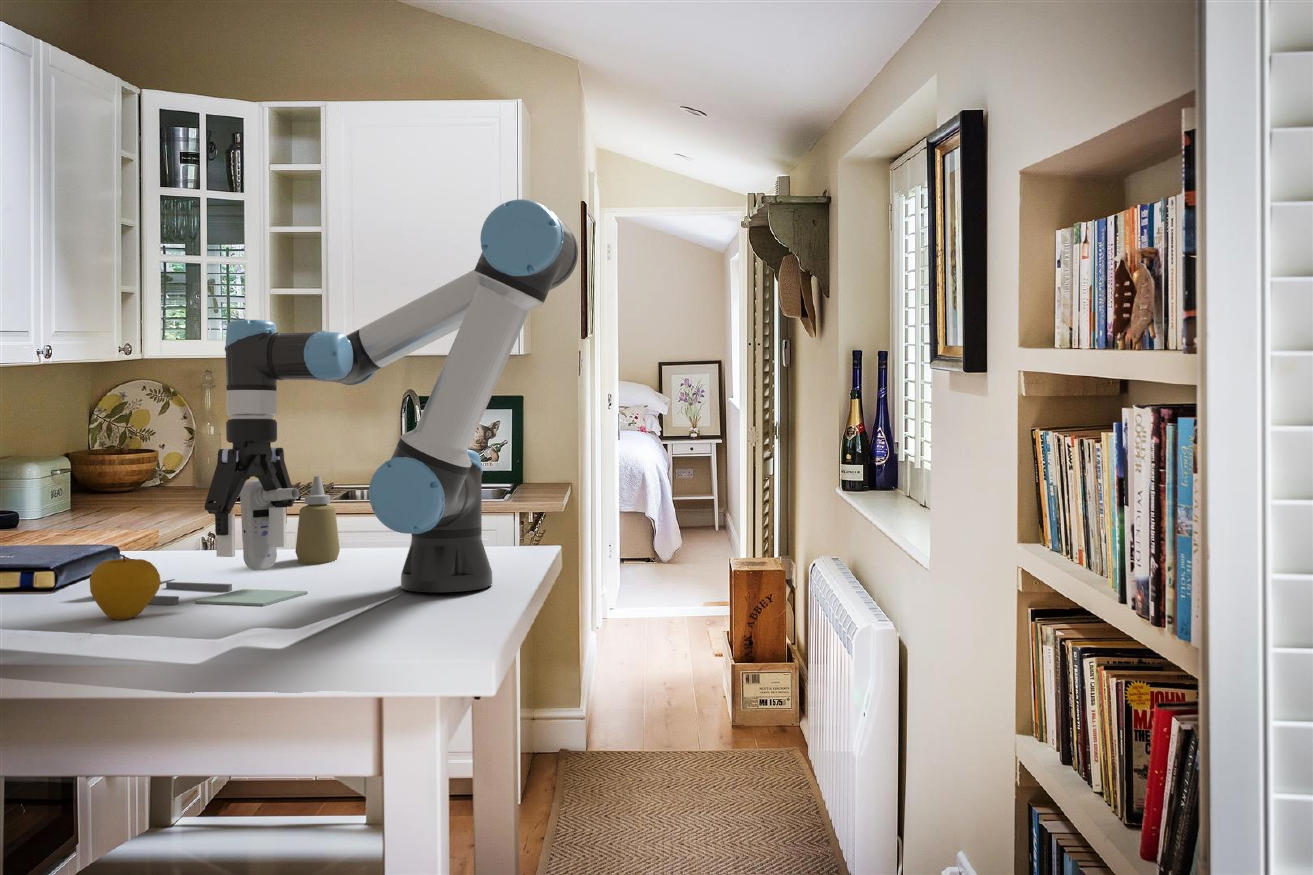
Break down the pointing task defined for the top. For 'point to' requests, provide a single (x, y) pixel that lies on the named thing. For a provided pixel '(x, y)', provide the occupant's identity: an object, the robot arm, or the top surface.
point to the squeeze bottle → (317, 528)
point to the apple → (124, 586)
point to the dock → (187, 586)
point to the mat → (251, 597)
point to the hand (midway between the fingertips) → (252, 551)
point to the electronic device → (259, 523)
